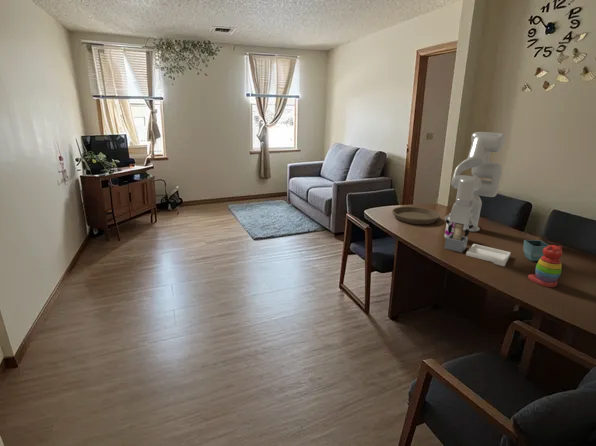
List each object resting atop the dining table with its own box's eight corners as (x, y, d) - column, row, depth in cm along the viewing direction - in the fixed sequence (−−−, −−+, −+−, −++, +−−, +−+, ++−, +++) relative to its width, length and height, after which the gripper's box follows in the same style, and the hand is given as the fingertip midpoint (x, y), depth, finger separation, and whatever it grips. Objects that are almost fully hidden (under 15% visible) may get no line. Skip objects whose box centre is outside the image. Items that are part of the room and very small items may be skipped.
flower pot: (519, 255, 190) (523, 239, 187) (536, 255, 189) (540, 240, 186) (529, 262, 181) (533, 246, 178) (547, 263, 181) (551, 246, 178)
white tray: (472, 247, 198) (473, 243, 197) (509, 256, 188) (510, 252, 187) (465, 256, 187) (466, 252, 186) (504, 266, 176) (505, 261, 176)
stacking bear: (549, 277, 166) (559, 241, 161) (563, 288, 157) (574, 250, 151) (525, 276, 167) (534, 240, 161) (538, 287, 157) (548, 249, 151)
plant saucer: (396, 209, 266) (397, 203, 264) (441, 215, 253) (442, 209, 252) (387, 221, 239) (387, 214, 238) (436, 229, 227) (437, 222, 225)
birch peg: (452, 245, 198) (456, 221, 194) (460, 247, 196) (465, 223, 191) (449, 248, 195) (454, 223, 190) (458, 250, 192) (462, 225, 188)
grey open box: (449, 244, 202) (450, 233, 199) (466, 248, 196) (468, 237, 194) (444, 249, 195) (446, 237, 193) (461, 254, 190) (463, 242, 187)
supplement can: (460, 242, 206) (465, 217, 201) (445, 240, 207) (449, 216, 202) (457, 237, 213) (461, 212, 208) (443, 235, 215) (446, 211, 210)
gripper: (483, 203, 185) (476, 236, 191) (448, 198, 195) (443, 228, 200) (479, 207, 179) (473, 240, 185) (443, 200, 189) (439, 232, 195)
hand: (457, 233), depth 193 cm, fingers open, 7 cm apart
